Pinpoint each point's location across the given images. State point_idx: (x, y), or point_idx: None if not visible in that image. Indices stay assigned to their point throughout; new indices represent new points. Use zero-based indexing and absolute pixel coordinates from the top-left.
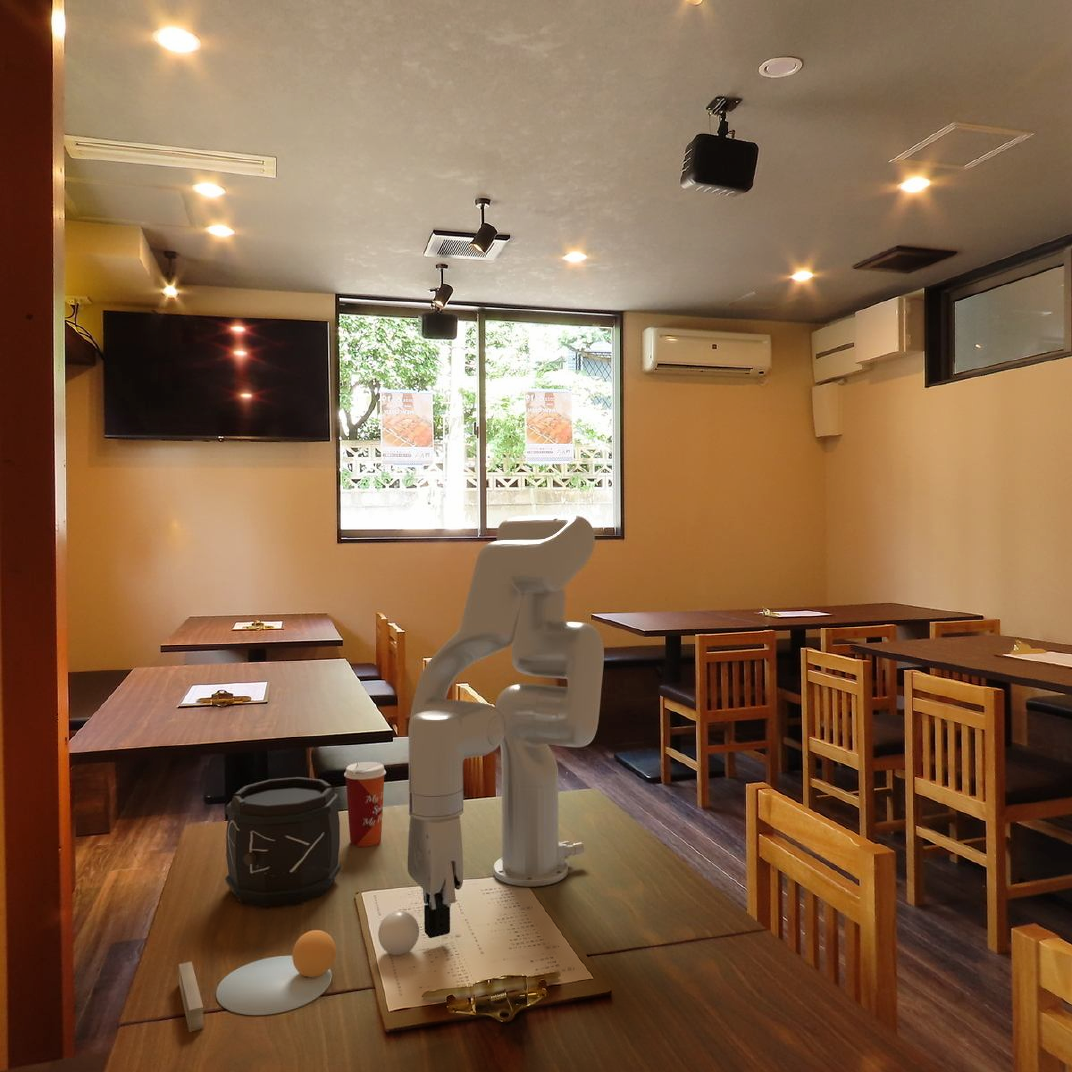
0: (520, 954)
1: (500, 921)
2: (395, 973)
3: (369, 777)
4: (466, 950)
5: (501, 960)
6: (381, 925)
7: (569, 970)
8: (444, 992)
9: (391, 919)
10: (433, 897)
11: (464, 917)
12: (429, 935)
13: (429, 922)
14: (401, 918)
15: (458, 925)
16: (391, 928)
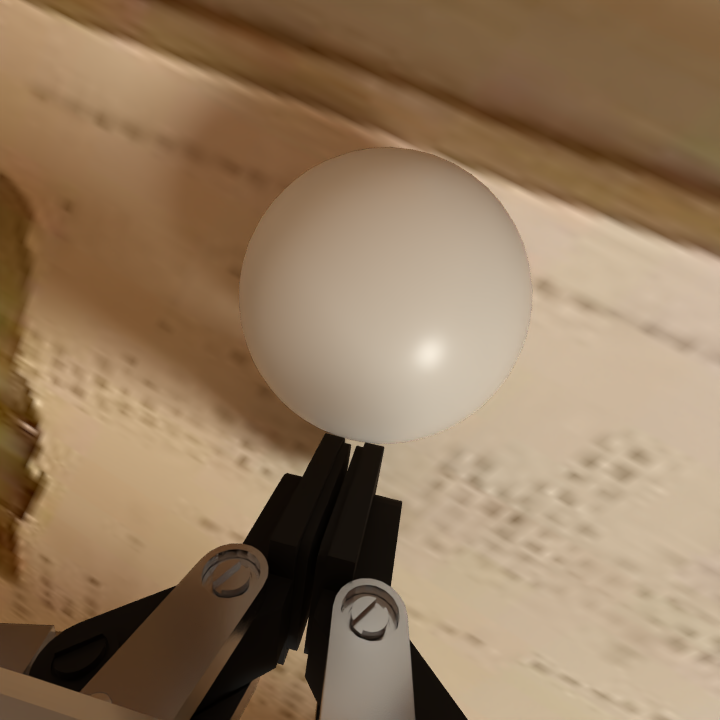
0: (140, 586)
1: None
2: (222, 163)
3: None
4: (249, 499)
5: (131, 530)
6: (411, 169)
7: (13, 603)
8: (2, 265)
9: (324, 241)
10: (125, 646)
11: (495, 647)
12: (323, 440)
13: (301, 483)
14: (279, 321)
15: (450, 596)
16: (280, 206)
